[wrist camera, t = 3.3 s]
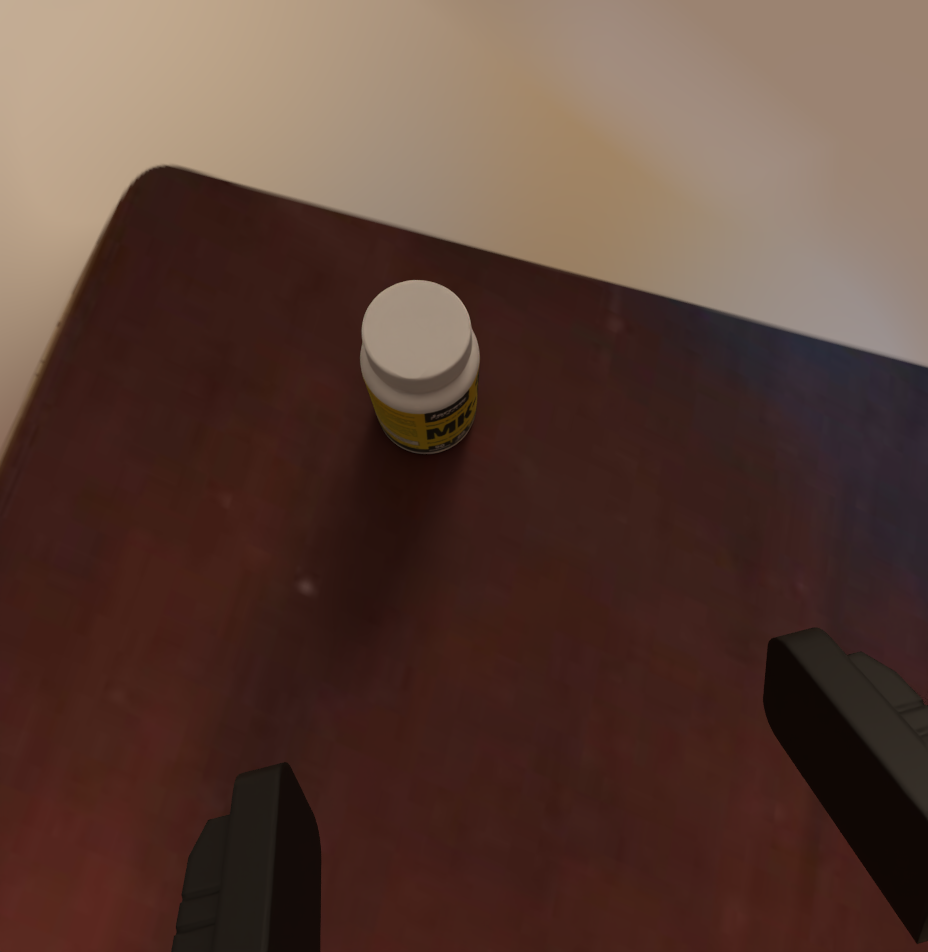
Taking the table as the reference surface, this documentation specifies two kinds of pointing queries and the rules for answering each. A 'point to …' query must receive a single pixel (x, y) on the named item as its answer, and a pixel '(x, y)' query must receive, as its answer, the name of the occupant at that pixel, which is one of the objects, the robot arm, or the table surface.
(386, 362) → the supplement bottle
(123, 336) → the table surface
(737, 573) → the table surface
